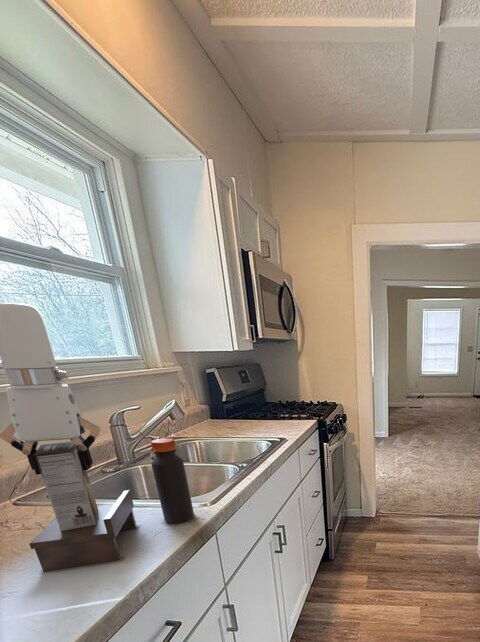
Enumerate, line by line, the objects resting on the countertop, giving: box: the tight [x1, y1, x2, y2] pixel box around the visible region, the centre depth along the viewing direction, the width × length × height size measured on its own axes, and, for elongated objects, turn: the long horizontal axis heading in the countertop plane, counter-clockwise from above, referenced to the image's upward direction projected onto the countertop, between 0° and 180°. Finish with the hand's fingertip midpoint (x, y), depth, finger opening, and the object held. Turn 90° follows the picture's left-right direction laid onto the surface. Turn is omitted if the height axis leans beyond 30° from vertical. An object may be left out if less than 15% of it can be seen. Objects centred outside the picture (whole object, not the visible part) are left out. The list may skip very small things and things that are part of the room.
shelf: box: [29, 489, 137, 572], centre depth 86 cm, size 14×18×9 cm
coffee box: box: [34, 441, 98, 531], centre depth 82 cm, size 9×6×16 cm
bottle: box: [150, 437, 195, 524], centre depth 98 cm, size 7×7×20 cm
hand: (64, 470), depth 81 cm, fingers closed on coffee box, 7 cm apart
